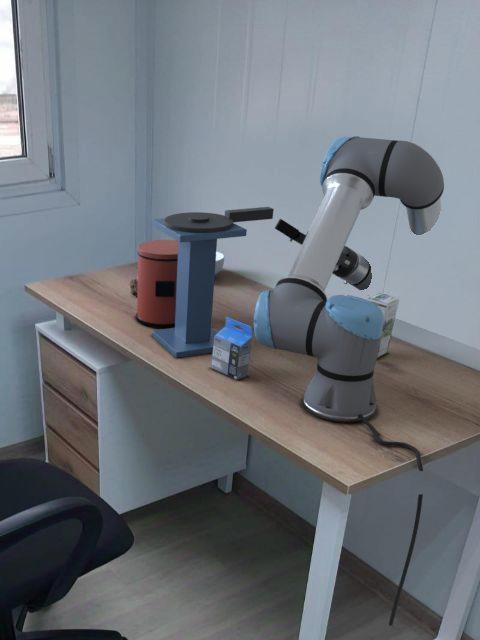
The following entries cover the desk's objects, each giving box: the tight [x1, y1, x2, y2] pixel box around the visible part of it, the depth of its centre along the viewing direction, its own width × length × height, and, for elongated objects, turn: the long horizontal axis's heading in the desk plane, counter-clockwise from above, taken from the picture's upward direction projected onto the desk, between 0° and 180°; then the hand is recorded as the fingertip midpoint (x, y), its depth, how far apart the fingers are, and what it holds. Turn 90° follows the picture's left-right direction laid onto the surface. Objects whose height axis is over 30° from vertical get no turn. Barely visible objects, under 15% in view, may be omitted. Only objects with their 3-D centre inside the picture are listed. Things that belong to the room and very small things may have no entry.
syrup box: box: [366, 293, 400, 359], centre depth 183 cm, size 6×6×14 cm
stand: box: [151, 217, 248, 359], centre depth 185 cm, size 17×17×30 cm
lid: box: [164, 206, 275, 233], centre depth 178 cm, size 28×16×2 cm, turn 110°
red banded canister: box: [135, 239, 178, 330], centre depth 202 cm, size 16×16×20 cm
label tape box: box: [210, 316, 253, 380], centre depth 173 cm, size 9×4×12 cm, turn 37°
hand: (291, 229), depth 186 cm, fingers open, 13 cm apart
